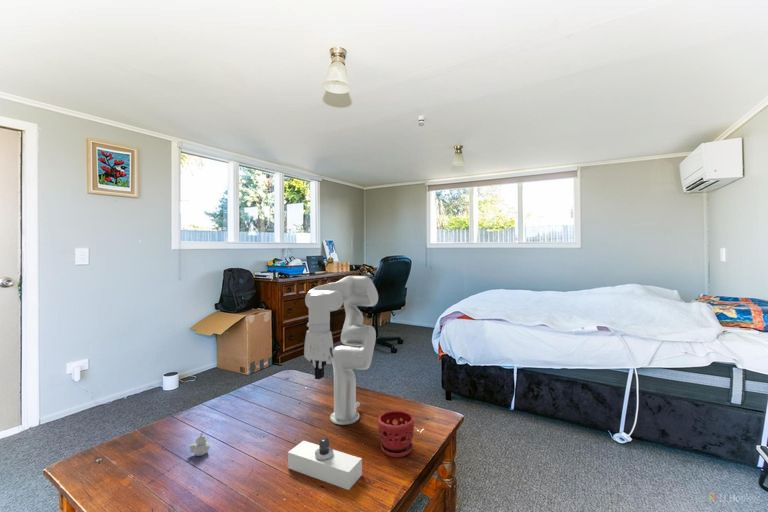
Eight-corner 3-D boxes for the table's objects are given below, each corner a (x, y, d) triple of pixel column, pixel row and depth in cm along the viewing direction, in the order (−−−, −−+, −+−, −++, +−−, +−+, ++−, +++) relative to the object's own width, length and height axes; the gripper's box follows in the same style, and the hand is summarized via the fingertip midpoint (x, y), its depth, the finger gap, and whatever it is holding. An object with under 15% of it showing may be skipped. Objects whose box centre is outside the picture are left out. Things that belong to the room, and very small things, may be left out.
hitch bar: (303, 455, 123) (303, 440, 123) (361, 474, 112) (361, 458, 112) (287, 468, 116) (287, 452, 116) (348, 490, 105) (348, 472, 105)
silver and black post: (322, 462, 118) (322, 433, 118) (336, 467, 115) (336, 437, 115) (311, 472, 112) (311, 442, 112) (326, 478, 110) (326, 447, 110)
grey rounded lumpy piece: (207, 457, 122) (207, 435, 122) (186, 460, 120) (186, 437, 120) (211, 449, 127) (211, 427, 127) (191, 451, 125) (191, 429, 125)
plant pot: (417, 443, 130) (417, 412, 130) (408, 463, 118) (408, 428, 118) (384, 437, 135) (384, 407, 135) (372, 456, 122) (372, 422, 122)
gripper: (296, 327, 124) (296, 378, 124) (330, 331, 117) (330, 385, 118) (309, 323, 131) (309, 371, 131) (342, 327, 124) (342, 378, 124)
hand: (319, 378), depth 124 cm, fingers closed
